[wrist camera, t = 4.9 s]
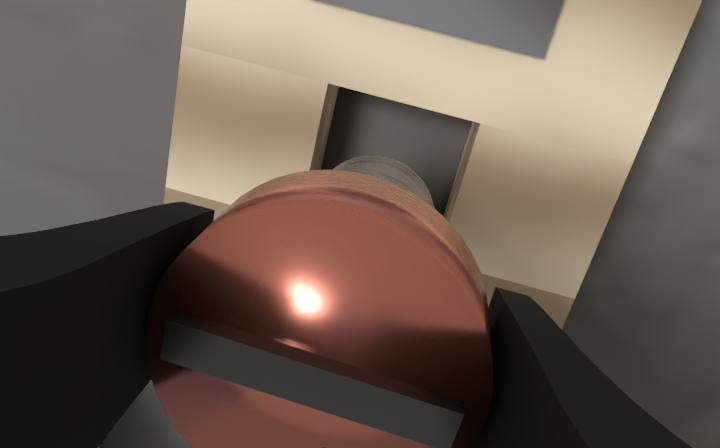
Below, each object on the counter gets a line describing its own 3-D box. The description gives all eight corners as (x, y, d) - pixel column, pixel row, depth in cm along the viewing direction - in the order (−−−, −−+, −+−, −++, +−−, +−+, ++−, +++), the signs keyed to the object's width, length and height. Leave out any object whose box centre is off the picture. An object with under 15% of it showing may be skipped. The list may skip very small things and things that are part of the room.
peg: (511, 146, 14) (553, 287, 8) (441, 331, 16) (428, 566, 10) (296, 81, 15) (161, 165, 8) (253, 272, 17) (117, 462, 10)
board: (543, 308, 22) (555, 352, 19) (190, 211, 22) (155, 242, 20) (743, -183, 16) (799, -214, 13) (257, -299, 16) (221, -350, 14)
